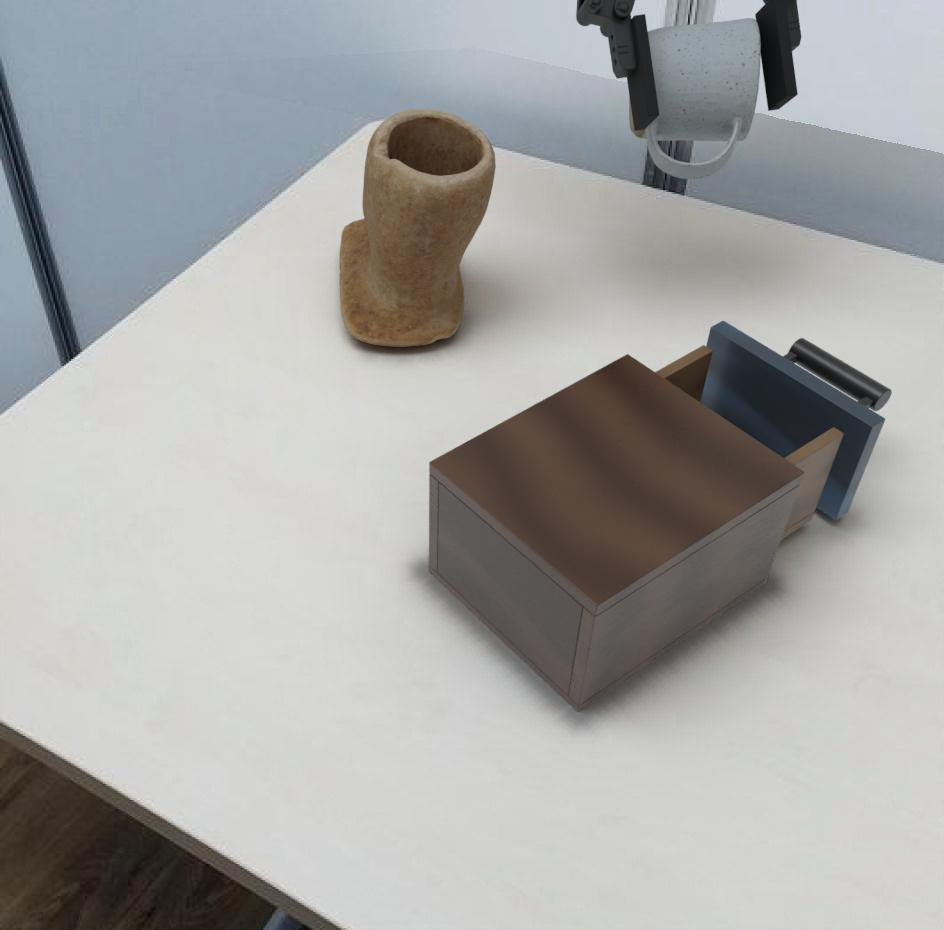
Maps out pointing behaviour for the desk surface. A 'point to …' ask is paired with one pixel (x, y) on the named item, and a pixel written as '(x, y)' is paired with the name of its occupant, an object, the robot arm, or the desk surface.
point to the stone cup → (414, 228)
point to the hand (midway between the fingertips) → (715, 112)
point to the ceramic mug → (702, 89)
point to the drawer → (791, 410)
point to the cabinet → (606, 525)
